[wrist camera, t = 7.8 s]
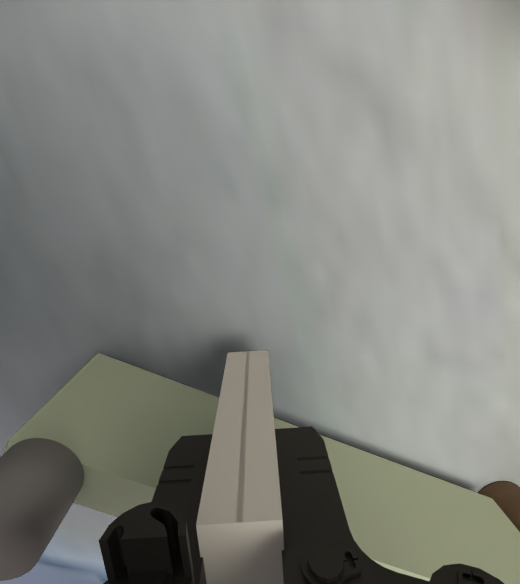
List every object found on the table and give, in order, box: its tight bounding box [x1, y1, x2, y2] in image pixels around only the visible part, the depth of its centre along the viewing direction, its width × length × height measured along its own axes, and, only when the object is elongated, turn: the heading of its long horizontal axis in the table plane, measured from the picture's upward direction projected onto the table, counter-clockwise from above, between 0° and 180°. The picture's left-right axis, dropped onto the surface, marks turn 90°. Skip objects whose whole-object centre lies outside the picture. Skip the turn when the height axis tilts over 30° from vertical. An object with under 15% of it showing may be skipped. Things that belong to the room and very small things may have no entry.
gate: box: [0, 353, 520, 584], centre depth 11 cm, size 18×2×7 cm, turn 66°
